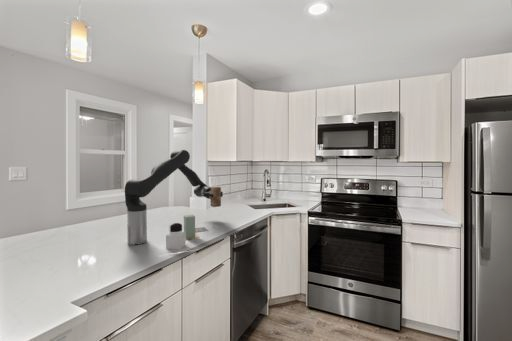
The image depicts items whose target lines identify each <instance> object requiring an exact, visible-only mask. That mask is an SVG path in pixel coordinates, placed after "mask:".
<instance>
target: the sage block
mask: <svg viewBox="0 0 512 341" xmlns="http://www.w3.org/2000/svg"><path fill="white" fill-rule="evenodd" d="M195 228H196V215H194V214H186V215H183V232H185V238H186V239H190V238H195V234H196V233H195Z"/></svg>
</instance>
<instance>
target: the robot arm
mask: <svg viewBox="0 0 512 341" xmlns="http://www.w3.org/2000/svg"><path fill="white" fill-rule="evenodd" d="M169 157H170V158H169V159H166V160H163V161H161V162H159V163H158V164H156V165H155V166H153V167H152V169H151V173H150V175H148V177H146V178H143V179H129V180H127V181H126V183H125V185H124V186H125V187H124V198H125V201H124V203H125V207H126V208H127V209H126V210H127V214H126V215H127V226H126V228H127V229H126V230H127V232H126V234H127V245H128V246H135V244H138V245H141V244H142V243H143V244H145V243H147V242H148V231H147V230H148V225H147V224H148V222H147V219H148V218H147V215H148V214H147V213H148V212H147V211H148V210H147V204H146V203H145V202H143V201H142V200H141V198H144V197H147V196H148V195H149V194H150V193H151V192H152V191H153V190H154V189H155V188H156V187H157V186H158V185H159V184H161V183H162V182H163V181H164V180H165V179H168V177H170V176H171V175H172V174H173V173H174V172H175V171H176V170H179V171H180V172H181V173H182V175H184V176H185V178H186V179H187V180H188V181H189V183H190V184H191V186H192V187H194V189H193V193H194V195H195V196H197V197H198V198H202V197H204V198H206V199H209V200H211V197H212V198H213V194H212V193H211V187H212V186H208V185H207V184H206V183H204V182H203V180H201V178H200V177H199V175H198V174H197V173H196V171H194V170H193V169H191V168H189V167H188V166H187V165H186V164H187V163H188V162H189V161H190V157H191V155H190V152H189V151H188V150H186V149H180V150H175V151H172V152H171V153H170V156H169ZM223 194H224V193H223V191H222V190H221V198H222V197H223ZM146 241H147V242H146Z"/></svg>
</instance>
